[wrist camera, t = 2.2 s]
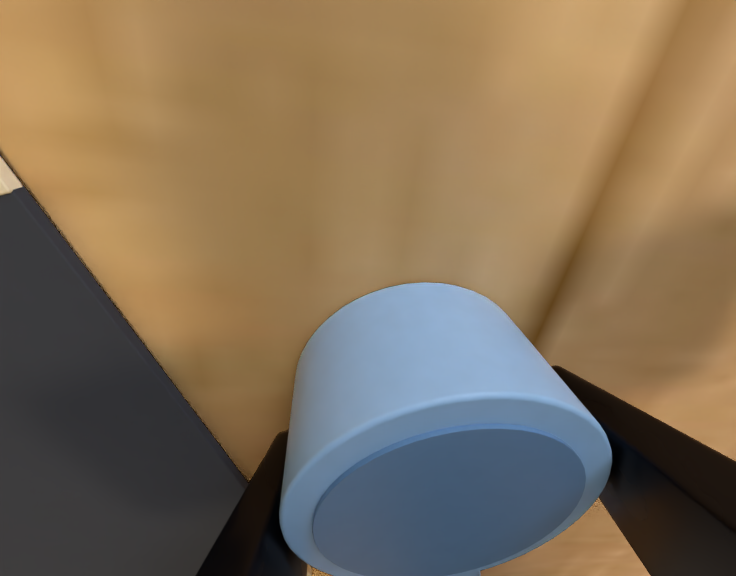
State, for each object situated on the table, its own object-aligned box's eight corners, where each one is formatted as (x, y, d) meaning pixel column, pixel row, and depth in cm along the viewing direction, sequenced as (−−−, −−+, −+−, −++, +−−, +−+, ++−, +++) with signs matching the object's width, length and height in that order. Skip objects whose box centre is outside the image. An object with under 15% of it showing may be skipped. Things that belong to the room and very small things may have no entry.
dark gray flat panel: (312, 567, 14) (312, 577, 14) (33, 633, 15) (27, 644, 14) (-18, 128, 5) (-38, 130, 5) (-739, 317, 6) (-800, 329, 5)
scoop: (258, 317, 8) (210, 462, 5) (521, 252, 8) (656, 355, 4) (370, 546, 14) (382, 673, 11) (515, 512, 14) (569, 630, 11)
